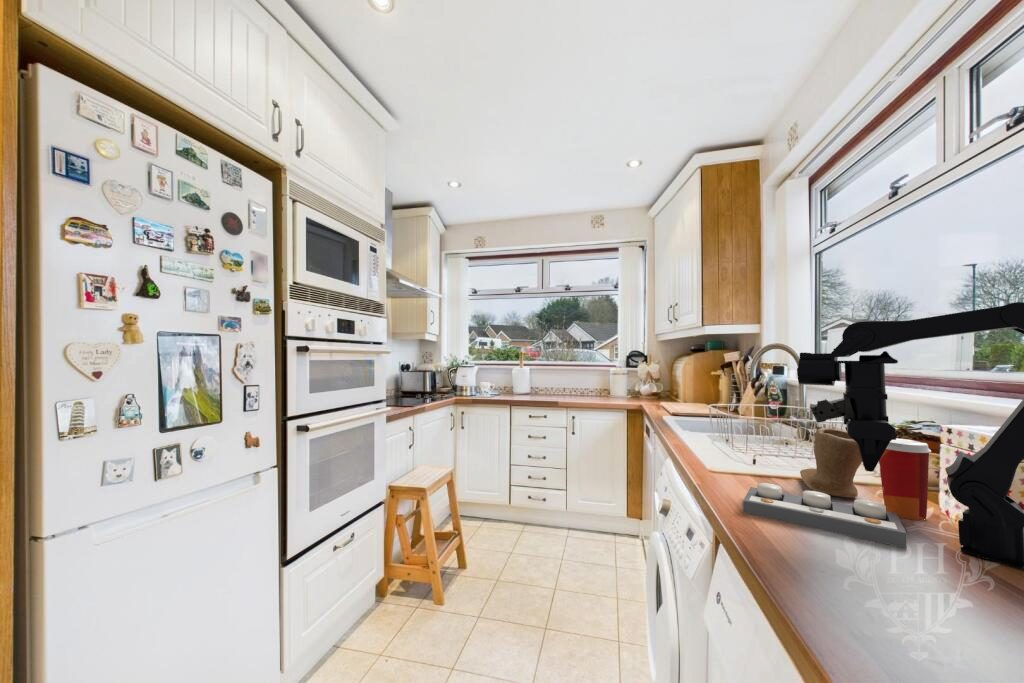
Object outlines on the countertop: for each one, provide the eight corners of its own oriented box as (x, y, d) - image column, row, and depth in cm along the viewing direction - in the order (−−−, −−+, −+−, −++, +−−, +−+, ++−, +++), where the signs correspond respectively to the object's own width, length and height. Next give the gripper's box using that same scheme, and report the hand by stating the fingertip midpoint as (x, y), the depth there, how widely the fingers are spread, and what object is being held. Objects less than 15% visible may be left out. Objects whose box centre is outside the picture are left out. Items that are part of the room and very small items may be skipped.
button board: (897, 526, 74) (896, 510, 74) (907, 548, 65) (906, 530, 65) (750, 498, 89) (750, 485, 89) (743, 512, 80) (743, 498, 80)
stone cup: (874, 506, 84) (872, 436, 85) (806, 496, 90) (804, 431, 91) (858, 486, 97) (855, 426, 98) (799, 479, 103) (797, 422, 104)
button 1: (782, 495, 84) (782, 485, 84) (781, 500, 80) (780, 491, 80) (758, 490, 86) (758, 481, 87) (756, 496, 83) (756, 486, 83)
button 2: (884, 513, 74) (884, 503, 74) (887, 521, 70) (887, 510, 70) (854, 508, 76) (853, 497, 77) (855, 515, 73) (855, 504, 73)
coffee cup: (908, 507, 83) (905, 437, 84) (947, 523, 75) (943, 446, 76) (866, 506, 84) (863, 436, 85) (900, 522, 76) (897, 445, 77)
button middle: (830, 503, 79) (830, 493, 79) (830, 510, 75) (830, 499, 75) (803, 498, 81) (803, 489, 82) (802, 505, 78) (802, 494, 78)
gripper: (812, 383, 87) (815, 453, 86) (811, 387, 72) (814, 472, 72) (881, 385, 80) (884, 461, 79) (894, 391, 65) (898, 484, 65)
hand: (868, 469), depth 74 cm, fingers open, 3 cm apart
